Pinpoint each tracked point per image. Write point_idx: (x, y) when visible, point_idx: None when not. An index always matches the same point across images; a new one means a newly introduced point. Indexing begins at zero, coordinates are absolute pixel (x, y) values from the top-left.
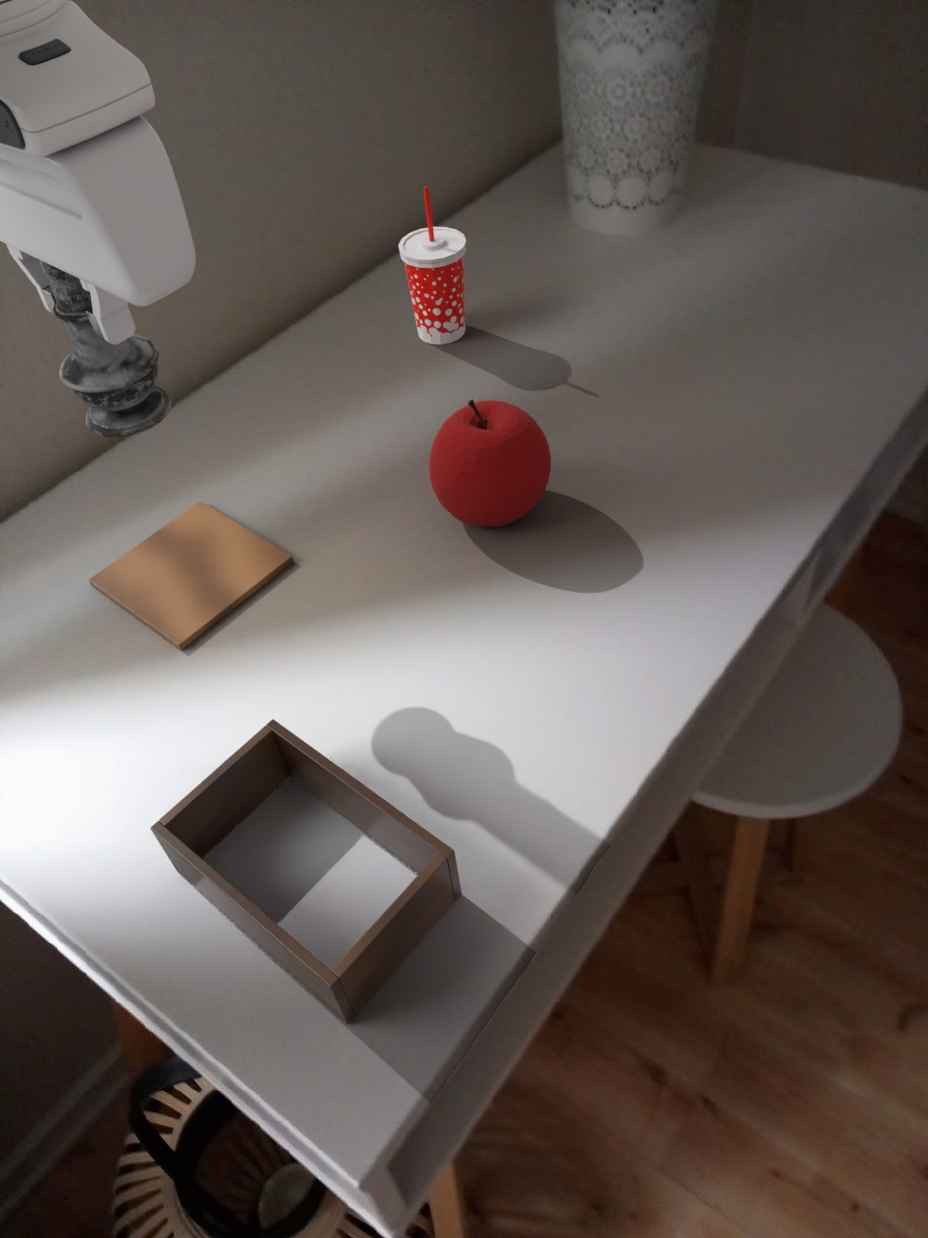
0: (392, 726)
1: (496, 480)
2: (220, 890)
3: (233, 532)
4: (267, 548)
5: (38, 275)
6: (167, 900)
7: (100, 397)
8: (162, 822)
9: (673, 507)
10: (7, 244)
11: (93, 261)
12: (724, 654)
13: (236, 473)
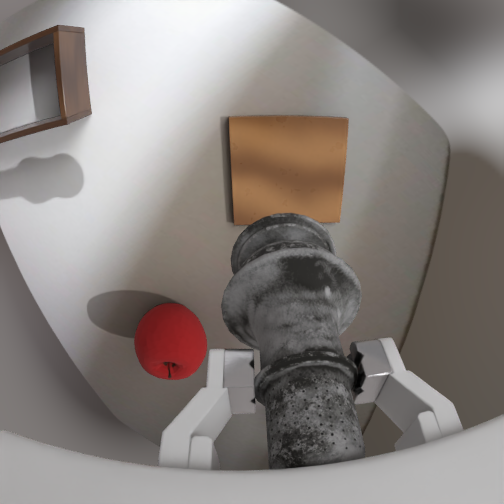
0: (76, 174)
1: (137, 336)
2: (8, 46)
3: None
4: (255, 219)
5: (400, 392)
6: (75, 17)
7: (251, 259)
8: (55, 32)
9: (115, 352)
10: (426, 445)
11: (46, 502)
12: (36, 299)
13: (340, 254)
